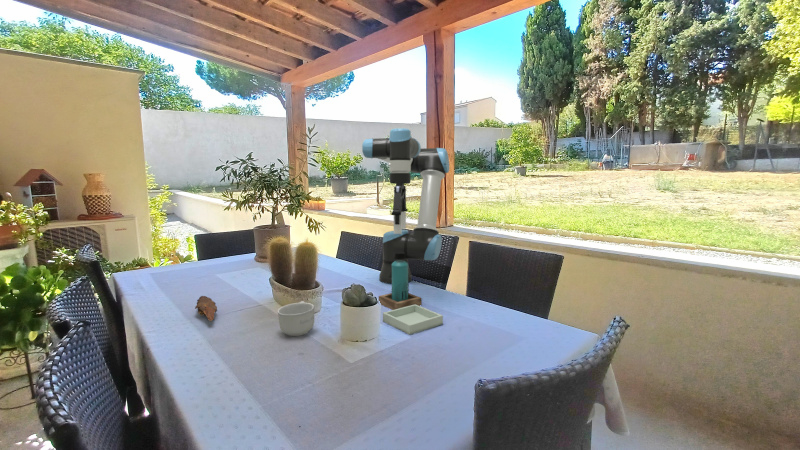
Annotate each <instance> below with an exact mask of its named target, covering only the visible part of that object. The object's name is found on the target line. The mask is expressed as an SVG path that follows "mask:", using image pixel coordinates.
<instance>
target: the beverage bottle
mask: <svg viewBox="0 0 800 450" xmlns="http://www.w3.org/2000/svg"><path fill="white" fill-rule="evenodd" d="M394 258H395V259H405V253H404V252H396V253H395V255H394ZM408 265H409V262H408V263H407V262H406V261H402V260H398V261H394V262H393V263H392V284H391V293H392V298H391V299H392V300H394V301H397V302H400V301H404V300H408V296H409V293H410V292H409V282H408V275H409V274H408Z"/></svg>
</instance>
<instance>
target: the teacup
mask: <svg viewBox="0 0 800 450" xmlns="http://www.w3.org/2000/svg"><path fill="white" fill-rule="evenodd" d="M277 314H278V324H279V328H280V331H281V332H282V333H284V334H286V335H287V336H290V337H298V336H303V335H306V334H308V333H309V332H310V330H312V329H313V327H314V325H315V305H314V304H313V303H310V302H305V301H304V300H301V301H299V302H295V303H294V302H293V303H288V304H285V305H283V306H281V307H279V308H278V309H277Z"/></svg>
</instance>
